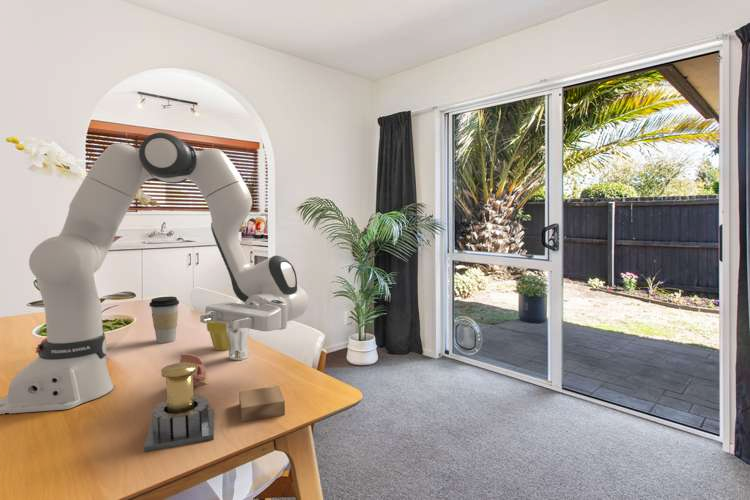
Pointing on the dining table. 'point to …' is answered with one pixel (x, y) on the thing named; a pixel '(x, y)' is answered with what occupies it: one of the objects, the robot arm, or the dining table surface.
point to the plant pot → (218, 335)
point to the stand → (261, 403)
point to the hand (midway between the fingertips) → (216, 322)
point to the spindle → (179, 386)
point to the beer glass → (237, 343)
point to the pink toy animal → (200, 375)
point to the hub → (180, 426)
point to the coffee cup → (165, 318)
